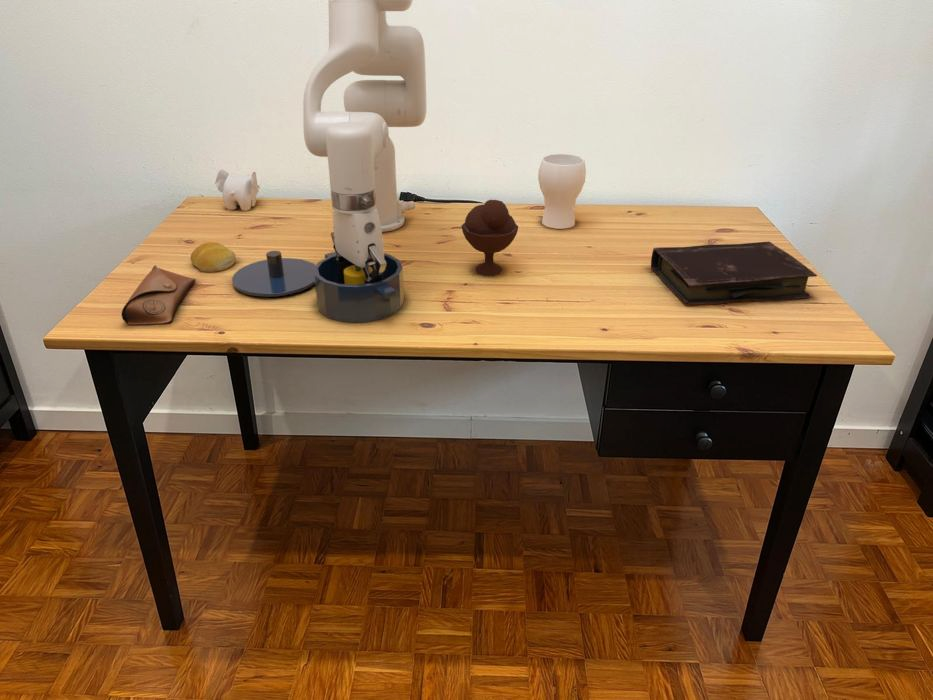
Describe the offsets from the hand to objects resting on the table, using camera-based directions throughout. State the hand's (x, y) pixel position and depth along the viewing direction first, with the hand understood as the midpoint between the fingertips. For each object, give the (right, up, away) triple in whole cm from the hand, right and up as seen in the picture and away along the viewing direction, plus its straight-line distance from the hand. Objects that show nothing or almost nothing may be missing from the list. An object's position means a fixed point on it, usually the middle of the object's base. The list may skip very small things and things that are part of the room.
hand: (360, 289), depth 132 cm
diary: (+71, +2, +10) cm, 71 cm away
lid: (-17, +3, +9) cm, 20 cm away
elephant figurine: (-35, +24, +46) cm, 63 cm away
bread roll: (-32, +6, +16) cm, 36 cm away
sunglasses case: (-36, -2, +1) cm, 37 cm away
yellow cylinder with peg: (0, -2, +1) cm, 2 cm away
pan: (0, -2, +1) cm, 3 cm away
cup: (+41, +18, +38) cm, 58 cm away
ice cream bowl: (+24, +5, +14) cm, 28 cm away
